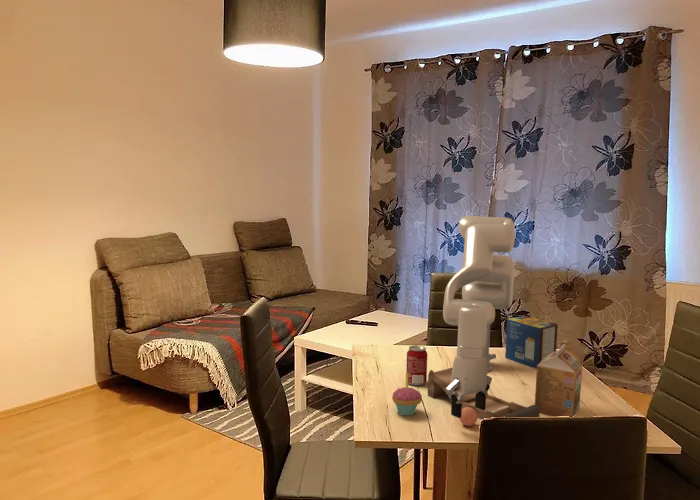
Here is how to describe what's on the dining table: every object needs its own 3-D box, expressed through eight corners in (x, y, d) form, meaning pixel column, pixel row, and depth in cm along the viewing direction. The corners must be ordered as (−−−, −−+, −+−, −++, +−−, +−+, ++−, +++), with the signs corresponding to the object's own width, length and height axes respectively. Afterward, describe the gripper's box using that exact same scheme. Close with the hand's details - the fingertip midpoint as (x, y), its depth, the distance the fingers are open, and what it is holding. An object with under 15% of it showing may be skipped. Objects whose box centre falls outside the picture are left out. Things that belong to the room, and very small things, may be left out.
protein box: (522, 354, 223) (524, 315, 221) (555, 364, 210) (558, 324, 208) (504, 358, 217) (506, 318, 215) (537, 369, 204) (540, 327, 202)
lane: (426, 395, 177) (427, 369, 176) (453, 387, 184) (454, 362, 183) (511, 433, 151) (512, 403, 150) (538, 422, 159) (540, 393, 158)
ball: (466, 419, 159) (467, 402, 159) (480, 426, 155) (481, 408, 155) (454, 424, 156) (455, 406, 156) (468, 430, 152) (469, 412, 152)
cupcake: (389, 406, 168) (390, 367, 166) (418, 406, 168) (419, 367, 167) (394, 418, 159) (395, 377, 158) (424, 418, 160) (425, 377, 158)
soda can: (425, 387, 184) (426, 351, 182) (404, 385, 185) (405, 350, 184) (427, 380, 190) (428, 345, 189) (406, 378, 192) (408, 344, 190)
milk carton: (572, 420, 160) (576, 355, 158) (534, 412, 166) (538, 349, 163) (579, 408, 169) (583, 346, 167) (543, 400, 175) (546, 340, 172)
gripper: (481, 343, 161) (478, 401, 163) (438, 353, 151) (436, 414, 153) (502, 349, 155) (499, 410, 157) (459, 360, 145) (456, 424, 147)
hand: (468, 412), depth 155 cm, fingers open, 9 cm apart
